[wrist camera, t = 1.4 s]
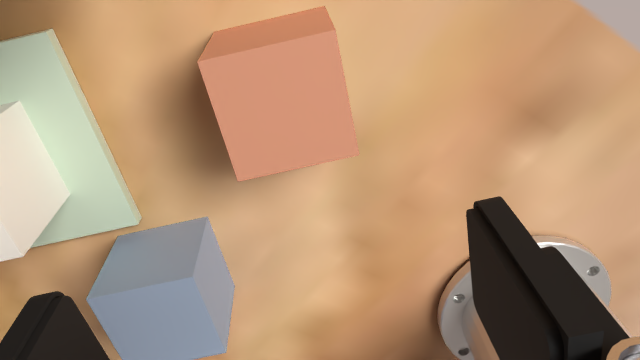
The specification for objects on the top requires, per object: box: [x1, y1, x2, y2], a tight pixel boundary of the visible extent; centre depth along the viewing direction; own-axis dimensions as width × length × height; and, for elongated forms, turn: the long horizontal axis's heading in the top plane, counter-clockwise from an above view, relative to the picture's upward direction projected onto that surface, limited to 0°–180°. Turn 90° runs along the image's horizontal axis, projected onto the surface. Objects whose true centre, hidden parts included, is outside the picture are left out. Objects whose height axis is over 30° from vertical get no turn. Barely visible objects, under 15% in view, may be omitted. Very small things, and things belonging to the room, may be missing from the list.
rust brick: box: [197, 6, 359, 182], centre depth 25 cm, size 6×6×6 cm
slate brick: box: [86, 217, 235, 360], centre depth 30 cm, size 6×6×6 cm
